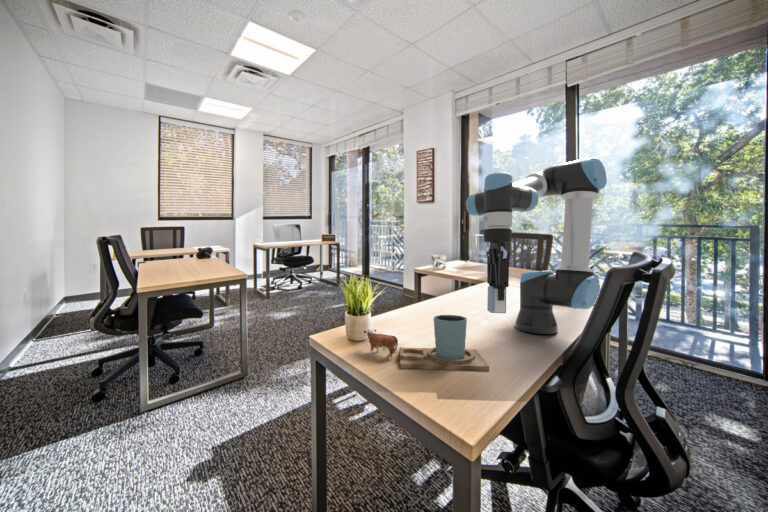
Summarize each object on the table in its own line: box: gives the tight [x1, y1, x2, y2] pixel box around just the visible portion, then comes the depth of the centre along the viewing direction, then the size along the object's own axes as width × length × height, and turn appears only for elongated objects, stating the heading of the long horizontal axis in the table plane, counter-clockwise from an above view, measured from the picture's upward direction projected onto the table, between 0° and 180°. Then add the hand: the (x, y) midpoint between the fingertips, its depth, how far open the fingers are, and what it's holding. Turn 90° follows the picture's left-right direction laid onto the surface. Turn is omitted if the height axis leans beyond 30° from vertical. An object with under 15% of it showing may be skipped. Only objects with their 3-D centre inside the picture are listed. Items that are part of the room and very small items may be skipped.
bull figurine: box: [363, 327, 399, 361], centre depth 102 cm, size 4×13×8 cm, turn 51°
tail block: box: [486, 285, 507, 314], centre depth 90 cm, size 4×4×7 cm
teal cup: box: [433, 314, 468, 360], centre depth 98 cm, size 10×10×12 cm
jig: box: [399, 346, 490, 372], centre depth 98 cm, size 25×16×2 cm, turn 87°
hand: (497, 310), depth 90 cm, fingers closed on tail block, 4 cm apart
